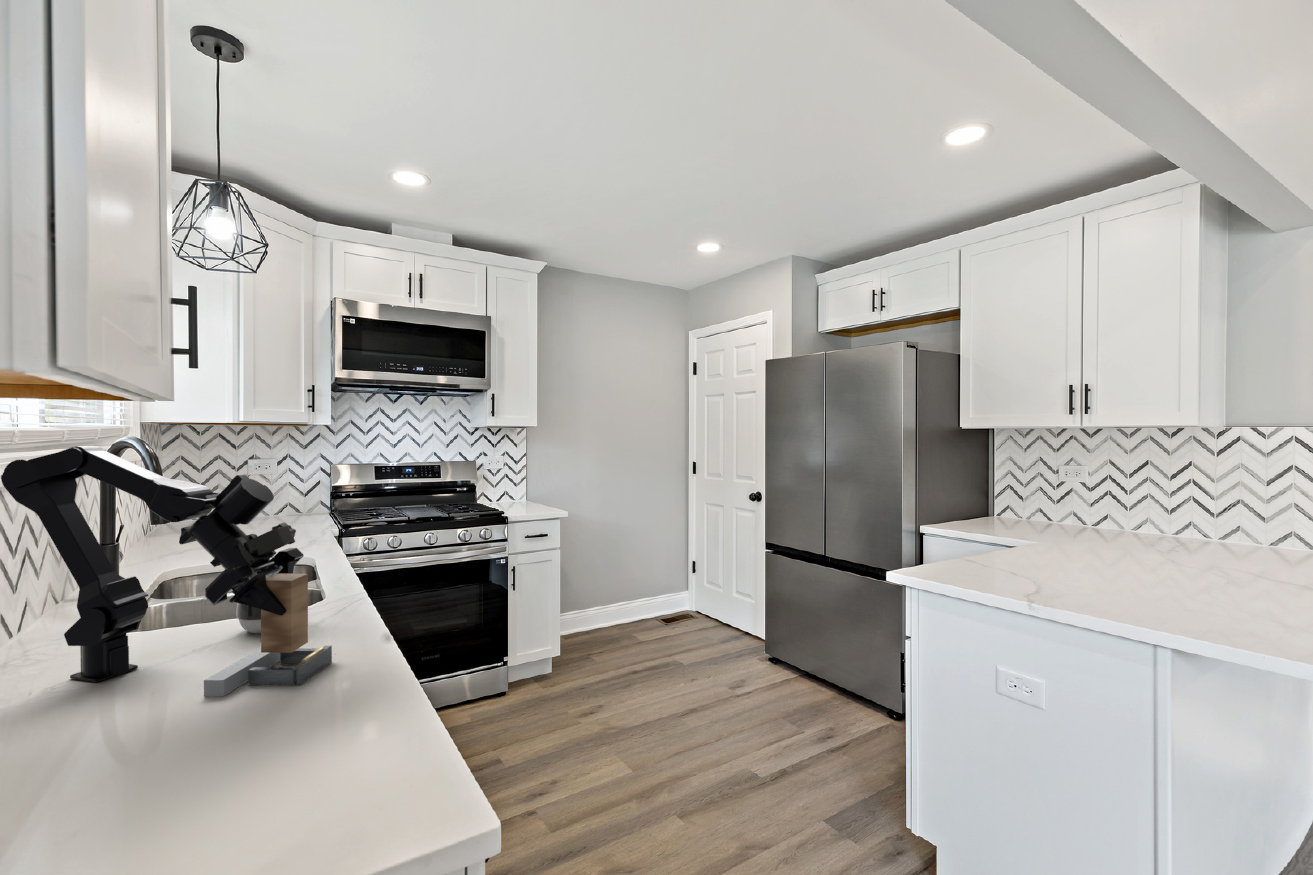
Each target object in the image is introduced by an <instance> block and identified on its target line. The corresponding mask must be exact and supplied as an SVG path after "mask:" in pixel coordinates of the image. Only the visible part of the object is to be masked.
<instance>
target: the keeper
mask: <svg viewBox="0 0 1313 875" xmlns="http://www.w3.org/2000/svg"><path fill="white" fill-rule="evenodd" d="M332 648H333V646H332V645H324V646H321V647H318V648H317V647H316V648H307V647H306V648H302V647H300V648H298V649H296V650H295V651H293V652H292V653H280V661H279V663H280V664H279V665H280V666H281V667H279V666H274V667H273V666H270V667H253V668H251V669H249V670H248V681H247V682H248V685H247V686H302V685H304V683H306V682H307V681H309V680H310V679H311V678H312V677H314V676H315V675H317V674H318V673H319V672H321V671H322V670H324V669H325V668H326V667H327V666H329V665H330V664H332V662H333V649H332ZM287 666H288V667H287ZM289 666H293V667H289Z"/></svg>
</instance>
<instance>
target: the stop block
mask: <svg viewBox="0 0 1313 875" xmlns="http://www.w3.org/2000/svg"><path fill="white" fill-rule="evenodd" d="M266 585H267V586H268V587H269V589H270V590H271V591H272V592H273V594H274V595H275V596H276V597H277V598H278V600H279V601H280V602H281V603H282V605H283V606H284V607H285V609H286V612H285V613H284V614H283V615H282V616H280V615H277V614H274V613H271V612H268V611H264V610H261V634H260V639H261V640H260V648H261V653H292V652H293V651H295V650H296V649H298V648H302V647H303V646H304V645H307V644H308V642H309V573H293V574H283V573H279V574H276V575H274V576H271V577H269V578H266Z"/></svg>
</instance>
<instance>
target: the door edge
mask: <svg viewBox="0 0 1313 875" xmlns="http://www.w3.org/2000/svg"><path fill="white" fill-rule="evenodd" d="M278 662H280V653H261V647H260V648H258V649H256V650H255V651H252V652H251V653H250V654H248V655H245V656H243V657H242V658H240V659H239V660H237V661H236V662H233V663H232V664H230V665H228V666H226V667H225V668H223V669H221V670H219V671H218V672H216V673H214V674H213V675H210V676H208V677H207V678H205V679H204V680H203V696H204V697H224V696H226V695H228V694H229V693H231V692H232V691H233V690H235V689H237V688H239V687H240V686H242V685H243V684H245V683H247V682H248V670H249V669H251V668H253V667H273V666H274V665H275V664H277V663H278Z"/></svg>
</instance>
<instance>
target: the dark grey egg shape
mask: <svg viewBox="0 0 1313 875" xmlns="http://www.w3.org/2000/svg"><path fill="white" fill-rule="evenodd" d="M273 557H274V556H273ZM273 557H272V558H273ZM272 558H270V559H269V561H270V560H271V559H272ZM235 612H236V619H238V621H239V625H240V626H241V627H242V629H243V630H245V631H246V632H248V633H252V634H258V635H259V634H260V635H261V609H258V608H255V607H251V606H247V605H243V604H240V603H237V604H236V611H235Z"/></svg>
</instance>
